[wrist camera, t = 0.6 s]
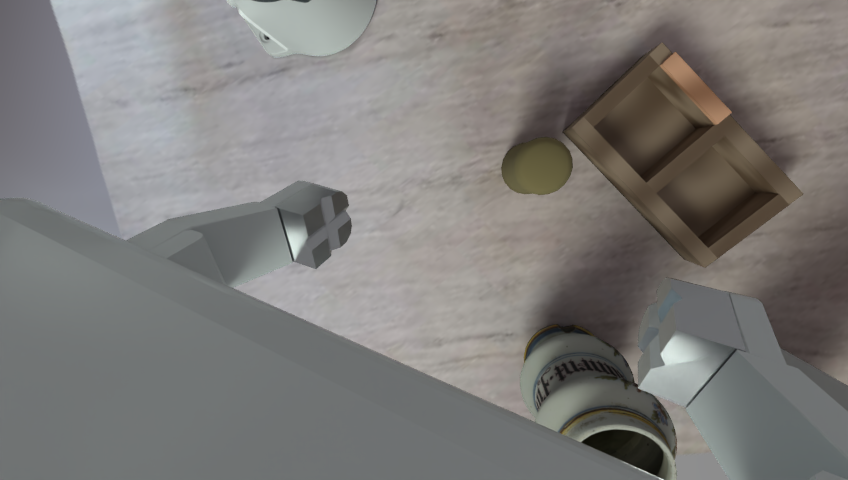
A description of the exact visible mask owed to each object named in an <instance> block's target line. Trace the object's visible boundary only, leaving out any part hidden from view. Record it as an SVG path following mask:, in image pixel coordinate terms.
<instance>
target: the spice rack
mask: <svg viewBox="0 0 848 480" xmlns="http://www.w3.org/2000/svg"><path fill="white" fill-rule="evenodd" d="M731 113H732V112H731V111H730V110H729V109H728V108H727V106H726V105H725V104H724V103H723V102H722V101H721V100H720V99H719V98H718V97H717V96H716V95H715V94H714V93H713V91H712V90H711V89H710V88H709V87H708V86H707V85H706V84H705V83H704V82H703V81H702V80H701V79H700V77H699V76H698V75H697V74H696V73H695V72H694V71H693V70H692V69H691V68H690V67H689V66H688V65H687V64H686V62H685V61H684V60H683V59H682V58H681V57H680V56H679V55H678V54H677V53H676V52H674V53H672V52H671V51H670V50H669V49H668V48H667V47H666V46H665V45H664V44H663V43H660V44H659V45H658V46H656V47H655V48H653V49H652V50H651V51H649V52H648V53H646V54H645V55H644V56H642V57H641V58H640V59H639V60H638V61H637V62H636V63H635V64H634V65H633V66H632V67H631V68H630V69H629V70H628V71H627V72H626V73H625V74H623V75H622V76H621V77H620V78H619V79H618V80H617V81H616V82H615V83H614V84H613V85H612V86H611V87H610V88H609V89H608V90H607V91H606V92H605V93H603V94H602V95H601V96H600V97H599V98H598V99H597V100H596V101H595V102H594V103H593V104H592V105H591V106H590V107H589V108H588V109H587V110H586V111H584V112H583V113H582V114H581V115H580V116H579V117H578V118H577V119H576V120H575V121H574V122H573V123H572V124H571V125H570V126H569V127H568V128H567V129H565V130H564V131H563V133H564V134H565V135H566V136H567V137H568V138H569V139H570V140H571V141H572V142H573V143H574V144H575V145H576V146H577V148H578V149H579V150H580V151H581V152H582V153H583V154H584V155H585V156H586V157H587V158H588V159H589V160H590V161H591V162H592V163H593V164H594V165H595V166H596V167H597V168H598V170H599V171H600V172H601V173H602V174H603V175H604V176H605V177H606V178H607V179H608V180H609V181H610V182H611V183H612V184H613V185H614V186H615V187H616V188H617V189H618V190H619V192H620V193H621V194H622V195H623V196H624V197H625V198H626V199H627V200H628V201H629V202H630V203H631V204H632V205H633V206H634V207H635V208H636V209H637V210H638V211H639V212H640V214H641V215H642V216H643V217H644V218H645V219H646V220H647V221H648V222H649V223H650V224H651V225H652V226H653V227H654V228H655V229H656V230H657V231H658V232H659V233H660V234H661V236H662V237H663V238H664V239H665V240H666V241H667V242H668V243H669V244H670V245H671V246H672V247H673V248H674V249H675V250H676V251H677V252H678V253H679V254H680V255H681V257H682V258H683V259H685V260H687V261H690V262H692V263H695V264H697V265H700V266H702V267H705V268H706V267H707V266H708V265H710V264H711V263H712V262H714V261H715V260H716V259H718V258H719V257H720V256H722V255H723V254H724V253H726V252H727V251H728V250H730V249H731V248H732V247H734V246H735V245H736V244H738V243H739V242H740V241H742V240H743V239H744V238H746V237H747V236H748V235H750V234H751V233H752V232H754V231H755V230H756V229H758V228H759V227H760V226H762V225H763V224H764V223H766V222H767V221H768V220H770V219H771V218H772V217H774V216H775V215H776V214H778V213H779V212H780V211H782V210H783V209H784V208H786V207H787V206H788V205H790V204H791V203H792V202H794V201H795V200H796V199H798V198H799V197H800V196H802V195H803V193H802V192H801V191H800V190H799V189H798V187H797V186H796V185H795V184H794V183H793V182H792V181H791V180H790V179H789V178H788V177H787V176H786V175H785V174H784V172H783V171H782V170H781V169H780V168H779V167H778V166H777V165H776V164H775V163H774V162H773V161H772V160H771V159H770V157H769V156H768V155H767V154H766V153H765V152H764V151H763V150H762V149H761V148H760V147H759V146H758V145H757V144H756V142H755V141H754V140H753V139H752V138H751V137H750V136H749V135H748V134H747V133H746V132H745V131H744V130H743V128H742V127H741V126H740V125H739V124H738V123H737V122H736V121H735V120H734V119H733V118H732V117H731V116H730V114H731Z"/></svg>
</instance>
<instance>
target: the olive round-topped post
mask: <svg viewBox="0 0 848 480" xmlns="http://www.w3.org/2000/svg"><path fill="white" fill-rule="evenodd" d="M501 168H502V177H503V179H504V181H505V183H506V184H507V185H508V187H509V188H510V189H512V190H514V191H515V192H517V193H522V194H532V193H533V194H538V195H544V194H550V193H552V192H555V191H557V190H559V189H560V188H561V187H562V186H563V185H565V183H566V182H567V180H568V179H569V177H570V175H571V171H572V168H573V164H572V157H571V154H570V151H569V150H568V148H567V147H566V146H565V145H564V144H563V143H562V142H560V141H558V140H557V139H554V138H549V137H541V138H536V139H534V140H531V141H529V142H526V143H521V144H519V145H516V146H514V147H513V148H512V149H511V150H510V151H508V153H507V154H506V156H505V157H504V159H503V163H502V167H501Z"/></svg>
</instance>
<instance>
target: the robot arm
mask: <svg viewBox="0 0 848 480" xmlns="http://www.w3.org/2000/svg"><path fill="white" fill-rule="evenodd" d="M226 1H227V3H228V4H229V5H230V6H232V7H233V8H235V7H236V8H237V9H238V11H239V14H240V15H241V16H242V17H243V18H244V20H245V21H246V23H247V24H248V26H249V27H250V29H251V30H252V32H253V33H254V35H255V36H256V38H257V39H258V41H259V42H260V44H261V45H262V47H263V48H264V50H265V51H266V52H267V53H268V54H270V55H271V56H272V57H275V58H281V57H285V56H288V55H292V54H305V55H310V56H326V55H331V54H334V53H337V52H339V51H341V50H343V49H345V48H347V47H348V46H350V45H351V44H352V43H353V42H355V41H356V40H357V39H358V38H359V36H360V35H361V34H362V33H363V31H364V30H365V29H366V27H367V25H368V23H369V22H370V20H371V17H372V15H373V12H374V9H375V5H376V0H226ZM267 37H269V38H270V39H269V40H267ZM348 206H349V204H348V199H347V195H346V194H344V193H343V192H342V191H338V190H335V189H331V188H328V187H325V186H321V185H318V184H314V183H310V182H306V181H297V182H295V183H293V184H291V185H290V186H288V187H286V188H284V189H283V190H281V191H279V192H277V193H276V194H274V195H272V196H270V197H269V198H267V199H265V200H263V201H262V202H260V203H259V202H251V203H246V204H241V205H236V206H232V207H227V208H222V209H217V210H212V211H207V212H202V213H197V214H192V215H187V216H182V217H177V218H172V219H168V220H166V221H164V222H162V223H160V224H158V225H156V226H154V227H152V228H150V229H148V230H146V231H144V232H142V233H140V234H138V235H136V236H134V237H132V238H130V239H128V240H123V239H121V238H119V237H117V236H114V235H112V234H109V233H108V232H105V231H103V230H101V229H98V228H96V227H94V226H92V225H89V224H87V223H85V222H83V221H80V220H78V219H76V218H74V217H71V216H69V215H67V214H65V213H62V212H60V211H58V210H56V209H53V208H51V207H49V206H47V205H45V204H43V203H41V202H38V201H36V200H32V199H28V198H6V199H0V480H664V479H662V478H660V477H657V476H655V475H653V474H651V473H648V472H646V471H644V470H642V469H639V468H637V467H635V466H633V465H630V464H628V463H626V462H624V461H621V460H619V459H617V458H615V457H612V456H610V455H608V454H606V453H603V452H601V451H599V450H597V449H594V448H592V447H590V446H588V445H585V444H583V443H581V442H579V441H576V440H574V439H572V438H570V437H567V436H565V435H563V434H561V433H558V432H556V431H554V430H552V429H549V428H547V427H545V426H543V425H540V424H538V423H536V422H534V421H531V420H529V419H527V418H524V417H522V416H520V415H518V414H515V413H513V412H511V411H509V410H506V409H504V408H502V407H500V406H497V405H495V404H493V403H491V402H488V401H486V400H484V399H482V398H479V397H477V396H475V395H473V394H470V393H468V392H466V391H464V390H461V389H459V388H457V387H454V386H452V385H450V384H448V383H445V382H443V381H441V380H439V379H436V378H434V377H432V376H430V375H427V374H425V373H423V372H421V371H418V370H416V369H414V368H412V367H409V366H407V365H405V364H403V363H400V362H398V361H396V360H394V359H391V358H389V357H387V356H385V355H382V354H380V353H378V352H376V351H373V350H371V349H369V348H367V347H364V346H362V345H360V344H358V343H355V342H353V341H351V340H349V339H346V338H344V337H342V336H340V335H337V334H335V333H333V332H331V331H328V330H326V329H324V328H322V327H319V326H317V325H315V324H313V323H310V322H308V321H306V320H304V319H301V318H299V317H297V316H295V315H292V314H290V313H288V312H286V311H283V310H281V309H279V308H277V307H274V306H272V305H270V304H268V303H265V302H263V301H261V300H259V299H256V298H254V297H252V296H250V295H247V294H245V293H243V292H241V291H238V290H236V289H234V287H236V286H238V285H241V284H243V283H245V282H248V281H250V280H253V279H255V278H257V277H260V276H262V275H265V274H267V273H269V272H272V271H274V270H276V269H279V268H281V267H284V266H286V265H288V264H291V263H293V261H294V262H297V263H300V264H303V265H306V266H308V267H311V268H314V269H317V268H318V267H319V266H320V265H321V264H322V263H323V262H325V261H326V260H327V259H328V258H329V257H330V256H331V251H332V250H334V249H337V248H340V247H341V246H343V245H344V244H345V243H346V242H347V240H348V238H349V236H350V234H351V227H352V225H351V218H350V217H349V215H348V214H347V212H346V209H347V208H348ZM638 347H639V348H640V350H641V351H642V352H643V354H642V356H641V358H640V359H639V361H638V389H641V390H643V391H646V392H648V393H651V394H653V395H656V396H658V397H661V398H663V399H666V400H668V401H671V402H673V403H676V404H678V405H681V406H683V407H686V411H687V413H688V414H689V416H690V417H691V419H692V421H693V422H694V424H695V425H696V427H697V429H698V430H699V432H700V433H701V435H702V437H703V438H704V440H705V441H706V443H707V445H708V446H709V448H710V449H711V451H712V453H713V454H714V456H715V457H716V459H717V461H718V462H719V464H720V466H721V467H722V468H723V470H724V472H725V473H726V475H727V477H728V478H729V480H848V411H847V410H845V409H844V408H843V407H842V406H841V405H840V404H839V403H837V402H836V401H835V400H834V399H833V398H832V397H830V396H829V395H828V394H827V393H826V392H825V391H824V390H822V389H821V388H820V387H819V386H818V385H817V384H815V383H814V382H813V381H812V380H811V379H810V378H808V377H807V376H806V375H805V374H804V373H803V372H802V371H800V370H799V369H798V368H795V367H792V366H789V365H787V364H786V361H785V359H784V356H783V354H782V351H781V349H780V347H779V344H778V342H777V339H776V337H775V334H774V332H773V329H772V327H771V324H770V322H769V319H768V317H767V314H766V312H765V309H764V307H763V304H762V302H760V301H759V300H758V299H757V298H753V297H749V296H744V295H740V294H736V293H731V292H727V291H721V290H717V289H713V288H709V287H705V286H701V285H697V284H693V283H689V282H685V281H681V280H677V279H673V278H669V277H666V278H665V279H664V280H663V281H662V282H661V284H660V286H659V287H658V289H657V302H656V303H654V304H651V305H649V306H648V307H647V309H646V311H645V313H644V315H643V318H642V321H641V324H640V327H639V333H638Z"/></svg>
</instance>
